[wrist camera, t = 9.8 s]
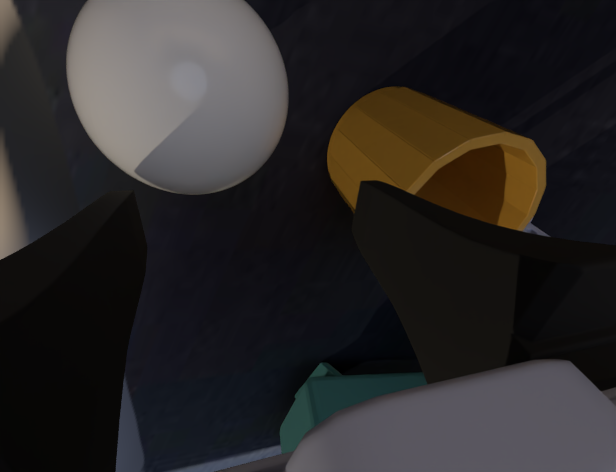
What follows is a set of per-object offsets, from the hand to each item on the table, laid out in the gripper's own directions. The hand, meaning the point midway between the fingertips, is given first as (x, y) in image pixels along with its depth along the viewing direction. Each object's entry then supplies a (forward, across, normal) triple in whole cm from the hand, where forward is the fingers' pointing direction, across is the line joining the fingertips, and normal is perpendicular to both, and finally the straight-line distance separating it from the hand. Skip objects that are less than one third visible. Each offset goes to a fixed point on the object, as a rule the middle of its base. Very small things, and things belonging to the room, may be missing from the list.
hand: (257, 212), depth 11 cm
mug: (+10, -10, +3) cm, 15 cm away
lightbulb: (+10, +2, -3) cm, 11 cm away
